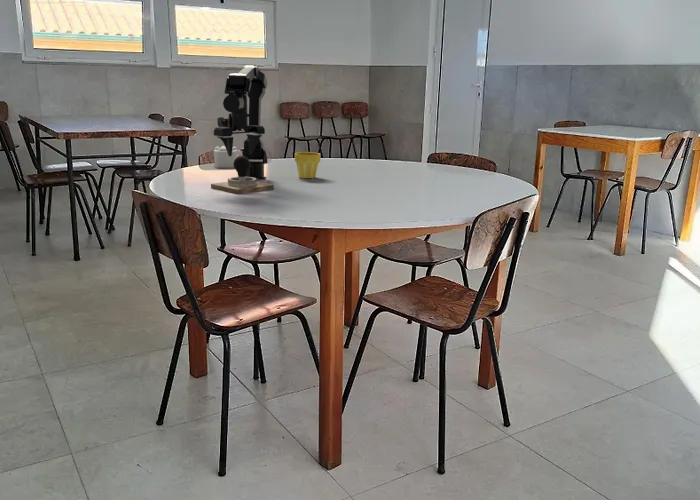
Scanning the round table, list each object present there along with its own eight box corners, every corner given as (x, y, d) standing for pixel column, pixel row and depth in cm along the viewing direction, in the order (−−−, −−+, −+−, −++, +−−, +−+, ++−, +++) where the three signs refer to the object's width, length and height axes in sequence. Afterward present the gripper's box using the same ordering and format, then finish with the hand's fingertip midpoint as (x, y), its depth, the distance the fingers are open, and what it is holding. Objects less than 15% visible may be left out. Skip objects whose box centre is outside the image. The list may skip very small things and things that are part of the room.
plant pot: (325, 178, 254) (325, 154, 251) (303, 180, 248) (303, 155, 245) (311, 174, 262) (311, 151, 259) (289, 176, 256) (289, 152, 253)
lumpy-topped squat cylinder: (213, 167, 276) (212, 147, 274) (216, 163, 288) (215, 144, 286) (237, 167, 277) (236, 148, 275) (238, 163, 290) (238, 144, 287)
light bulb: (247, 185, 223) (246, 157, 220) (231, 184, 224) (230, 156, 222) (252, 182, 229) (252, 155, 226) (237, 182, 230) (236, 154, 227)
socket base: (246, 183, 238) (246, 174, 237) (273, 188, 227) (273, 179, 226) (210, 187, 226) (210, 178, 225) (238, 194, 216) (237, 184, 215)
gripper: (246, 108, 232) (247, 151, 237) (203, 110, 219) (205, 155, 223) (265, 110, 225) (266, 154, 229) (222, 112, 212) (224, 158, 216)
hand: (240, 155), depth 225 cm, fingers open, 9 cm apart
